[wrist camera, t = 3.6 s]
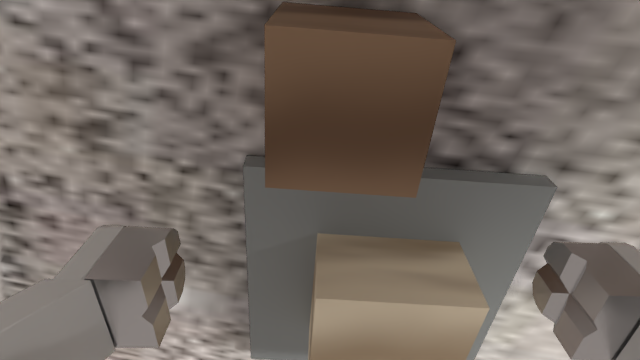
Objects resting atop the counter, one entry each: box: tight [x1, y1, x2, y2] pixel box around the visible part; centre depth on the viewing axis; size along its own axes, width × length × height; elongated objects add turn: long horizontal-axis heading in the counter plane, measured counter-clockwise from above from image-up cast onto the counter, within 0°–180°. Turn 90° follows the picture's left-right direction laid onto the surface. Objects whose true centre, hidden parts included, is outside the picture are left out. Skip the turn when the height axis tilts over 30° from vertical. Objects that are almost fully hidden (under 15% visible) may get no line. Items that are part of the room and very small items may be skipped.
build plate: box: [243, 155, 557, 360], centre depth 21 cm, size 14×14×1 cm
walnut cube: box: [265, 2, 456, 198], centre depth 13 cm, size 5×5×5 cm
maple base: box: [308, 233, 490, 360], centre depth 18 cm, size 7×7×4 cm
